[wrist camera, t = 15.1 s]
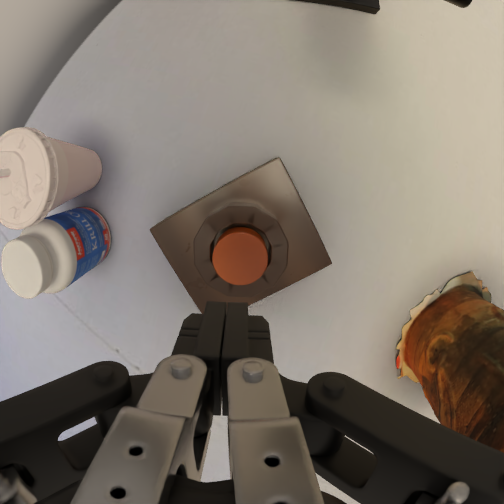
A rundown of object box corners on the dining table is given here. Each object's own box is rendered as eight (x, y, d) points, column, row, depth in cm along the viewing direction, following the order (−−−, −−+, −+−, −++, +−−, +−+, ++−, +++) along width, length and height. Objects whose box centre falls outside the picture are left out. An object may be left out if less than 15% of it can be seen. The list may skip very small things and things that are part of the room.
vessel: (374, 302, 27) (496, 472, 8) (487, 249, 26) (631, 334, 7) (392, 402, 31) (456, 539, 12) (487, 352, 30) (575, 450, 10)
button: (230, 284, 23) (229, 294, 21) (205, 241, 22) (201, 248, 20) (275, 262, 22) (277, 270, 21) (251, 217, 21) (251, 222, 20)
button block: (211, 312, 27) (206, 336, 23) (156, 223, 25) (141, 234, 21) (326, 255, 26) (338, 271, 22) (276, 157, 24) (282, 156, 20)
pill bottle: (124, 235, 25) (65, 275, 16) (91, 276, 26) (33, 325, 17) (83, 192, 24) (12, 211, 15) (53, 235, 25) (-14, 268, 16)
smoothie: (90, 118, 22) (-28, 98, 9) (130, 173, 24) (19, 193, 10) (45, 167, 23) (-72, 186, 10) (80, 220, 25) (-31, 273, 11)
